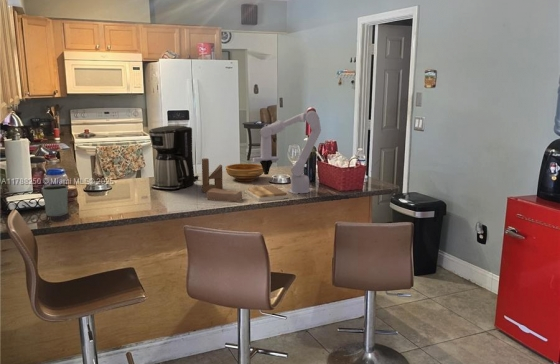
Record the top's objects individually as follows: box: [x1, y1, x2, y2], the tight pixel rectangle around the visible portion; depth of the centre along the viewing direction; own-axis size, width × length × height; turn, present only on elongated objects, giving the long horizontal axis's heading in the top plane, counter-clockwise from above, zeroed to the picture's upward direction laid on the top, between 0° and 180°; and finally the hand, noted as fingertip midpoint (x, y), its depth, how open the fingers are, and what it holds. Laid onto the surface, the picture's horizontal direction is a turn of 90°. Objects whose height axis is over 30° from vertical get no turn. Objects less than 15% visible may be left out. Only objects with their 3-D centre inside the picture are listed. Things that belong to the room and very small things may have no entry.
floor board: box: [244, 185, 289, 202], centre depth 239 cm, size 16×20×3 cm
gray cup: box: [41, 184, 69, 217], centre depth 203 cm, size 10×10×12 cm
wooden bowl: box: [224, 163, 264, 182], centre depth 280 cm, size 30×24×8 cm
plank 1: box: [247, 186, 267, 194], centre depth 242 cm, size 8×9×1 cm
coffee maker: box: [148, 125, 201, 191], centre depth 261 cm, size 23×32×34 cm
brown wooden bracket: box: [201, 158, 224, 193], centre depth 247 cm, size 4×11×18 cm, turn 115°
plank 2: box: [254, 190, 274, 198], centre depth 234 cm, size 8×9×1 cm
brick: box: [206, 188, 243, 203], centre depth 232 cm, size 16×8×5 cm, turn 75°
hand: (266, 174), depth 247 cm, fingers closed
